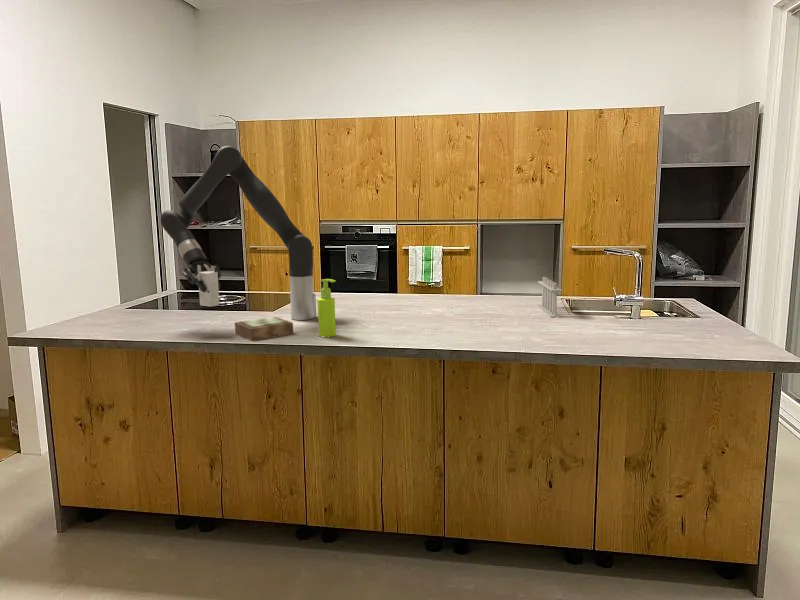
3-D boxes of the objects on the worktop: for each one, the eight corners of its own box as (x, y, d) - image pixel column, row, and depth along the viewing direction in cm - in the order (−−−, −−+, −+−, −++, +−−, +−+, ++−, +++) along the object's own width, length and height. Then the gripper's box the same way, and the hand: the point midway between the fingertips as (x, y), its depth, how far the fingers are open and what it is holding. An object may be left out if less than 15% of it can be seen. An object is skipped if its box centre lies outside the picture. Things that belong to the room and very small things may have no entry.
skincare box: (199, 305, 222) (196, 272, 219) (209, 303, 225) (206, 270, 223) (210, 307, 218) (207, 273, 216) (220, 304, 222) (217, 271, 220)
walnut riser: (276, 327, 231) (275, 315, 230) (293, 333, 220) (292, 321, 219) (235, 333, 221) (234, 321, 220) (251, 340, 210) (250, 327, 209)
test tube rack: (561, 317, 241) (562, 284, 239) (550, 318, 241) (551, 284, 239) (547, 306, 265) (547, 275, 263) (536, 306, 265) (537, 276, 263)
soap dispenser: (331, 338, 211) (329, 280, 208) (315, 336, 215) (313, 279, 211) (341, 335, 216) (339, 278, 213) (325, 333, 220) (323, 277, 216)
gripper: (176, 249, 218) (196, 285, 212) (213, 245, 228) (233, 280, 222) (170, 263, 223) (190, 299, 216) (206, 259, 233) (226, 293, 227)
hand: (211, 289), depth 219 cm, fingers closed on skincare box, 4 cm apart
